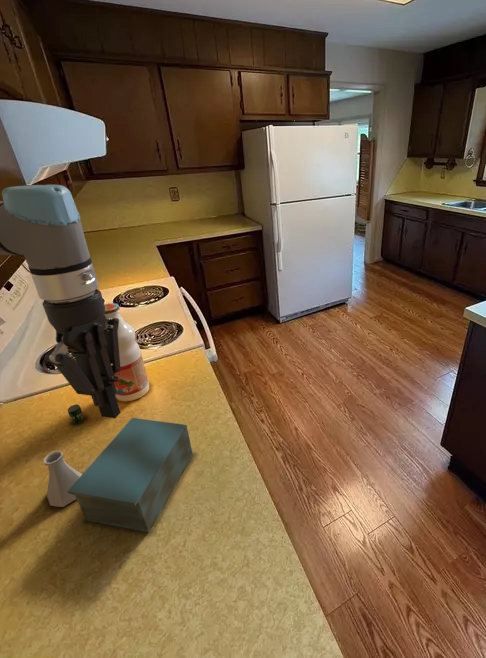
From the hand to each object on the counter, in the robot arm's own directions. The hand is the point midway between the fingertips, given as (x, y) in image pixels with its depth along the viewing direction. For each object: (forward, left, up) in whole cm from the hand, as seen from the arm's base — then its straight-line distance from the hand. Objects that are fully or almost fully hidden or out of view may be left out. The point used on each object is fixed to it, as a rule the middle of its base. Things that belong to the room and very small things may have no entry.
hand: (111, 414), depth 59 cm
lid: (0, +2, -13) cm, 13 cm away
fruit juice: (-22, +29, -21) cm, 42 cm away
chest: (0, +2, -21) cm, 21 cm away
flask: (-15, -2, -21) cm, 26 cm away
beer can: (-29, +16, -21) cm, 39 cm away
